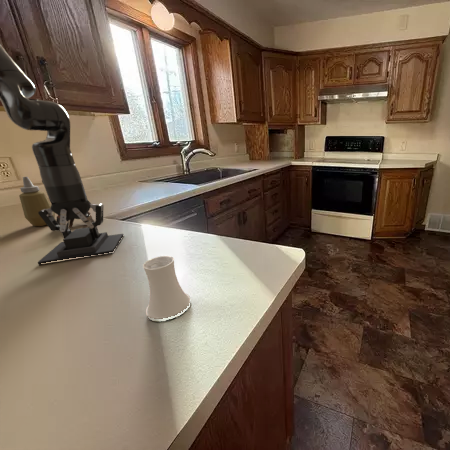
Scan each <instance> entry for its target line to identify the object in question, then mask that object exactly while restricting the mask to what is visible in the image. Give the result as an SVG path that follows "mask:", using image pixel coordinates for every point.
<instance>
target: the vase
mask: <svg viewBox="0 0 450 450" xmlns="http://www.w3.org/2000/svg"><path fill="white" fill-rule="evenodd" d="M142 268H143V271H144V272H145V275H146V277H147V281H148V286H149V300H148V305H147V306H146V309H145V314H146V317H147V316H148V317H150V318H154V319H163V318H168V317H171V316H175V315H177V314H178V313H181V311H182V312H183V310H184V309H186V308H187V306H189V303H190V300H191V297H190V295H189V294H187V293H186V292H185V290H183V288H182V286H181V285H180V282H179V280H178V278H177V275H176V274H177V273H176V270H175V258H174V257H173V256H170V255H160V256H156V257H153V258H151V259H148V260H147V261H145V262H144V263H142Z"/></svg>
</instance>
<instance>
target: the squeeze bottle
mask: <svg viewBox="0 0 450 450" xmlns="http://www.w3.org/2000/svg"><path fill="white" fill-rule="evenodd" d="M22 184H23V186H22V187H19V189H20V192H21V193H20V194H19V195H18V197H19V201H20V204H21V207H22V208H21V209H22V212H23V215H24V218H25V220H26V221H28V222H29V224H30V225H32V226H33V227H44V226H47V224H46V223H45V222H44V220H43V219H42V218H41V216H40V215H39V214H38V212H39V211H41V210H43V209H48V208H51V202H50V200H49V198H48V196H47V195H46V193H45V191H41V190H40V187H39V186H38V185H34V184H33V182H32V181H31V179H30V177H28V176H22ZM55 216H56V213H54V212H53V217H54V218H55V219H56V217H55Z"/></svg>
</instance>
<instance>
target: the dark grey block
mask: <svg viewBox="0 0 450 450" xmlns="http://www.w3.org/2000/svg"><path fill="white" fill-rule="evenodd" d="M71 232H72V233H71V234H69V235H68V236H67V237H66V238H64V237H63V239H62V242H64V244H65V246H66V249H67V250H68V249H75V248H82V247H89V246H90V245H91V244H92V243H93V242H94V241H95V240H93V239H92V236H91V233H90V231H89V227H88V226H87V227H81V228H80V227H79V228H75V229H74V230H73V231H71Z"/></svg>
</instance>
